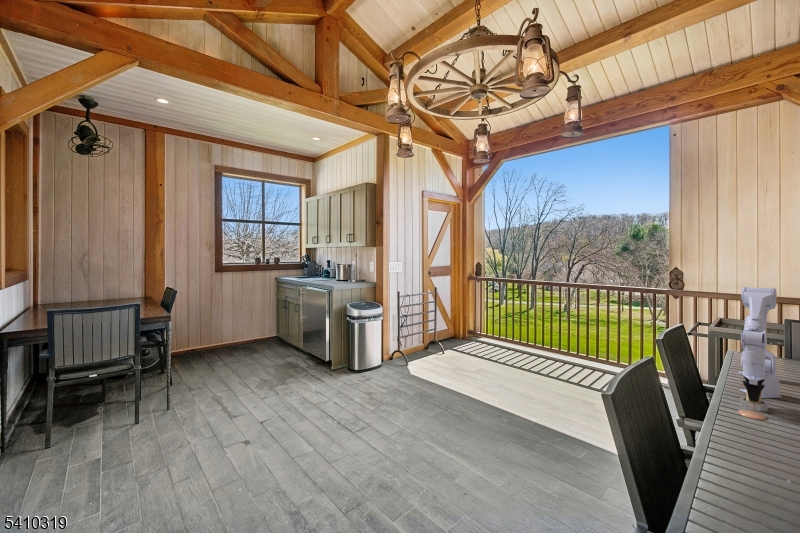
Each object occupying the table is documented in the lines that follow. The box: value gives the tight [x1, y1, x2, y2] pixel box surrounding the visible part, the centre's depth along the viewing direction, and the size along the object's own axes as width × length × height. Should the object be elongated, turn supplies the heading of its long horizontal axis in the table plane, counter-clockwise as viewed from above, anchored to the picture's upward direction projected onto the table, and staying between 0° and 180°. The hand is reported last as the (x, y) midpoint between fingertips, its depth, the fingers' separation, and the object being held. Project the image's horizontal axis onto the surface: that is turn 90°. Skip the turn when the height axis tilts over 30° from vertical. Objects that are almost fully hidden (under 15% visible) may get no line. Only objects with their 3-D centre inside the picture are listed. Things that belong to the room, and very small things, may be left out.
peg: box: [745, 390, 762, 404], centre depth 127 cm, size 4×4×7 cm
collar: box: [739, 396, 769, 413], centre depth 128 cm, size 7×7×2 cm
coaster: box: [737, 409, 767, 421], centre depth 121 cm, size 7×7×1 cm
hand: (753, 398), depth 127 cm, fingers open, 6 cm apart
